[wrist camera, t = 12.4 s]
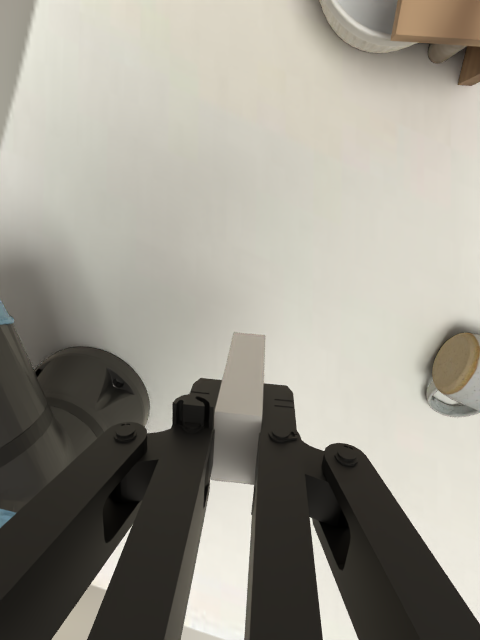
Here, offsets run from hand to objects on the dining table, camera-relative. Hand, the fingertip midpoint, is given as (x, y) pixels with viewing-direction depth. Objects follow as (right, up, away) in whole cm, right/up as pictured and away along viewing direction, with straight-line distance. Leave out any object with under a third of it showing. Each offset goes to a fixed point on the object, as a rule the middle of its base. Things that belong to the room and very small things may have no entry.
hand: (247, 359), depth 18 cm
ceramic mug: (+25, -4, +26) cm, 36 cm away
